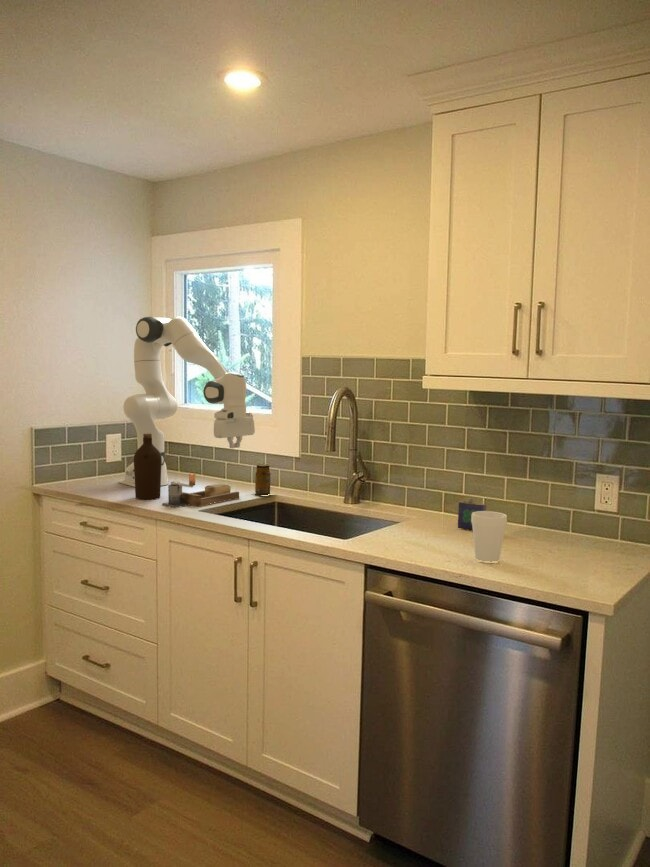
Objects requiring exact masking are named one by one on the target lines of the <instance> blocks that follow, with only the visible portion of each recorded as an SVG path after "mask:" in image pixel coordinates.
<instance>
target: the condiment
mask: <svg viewBox="0 0 650 867" xmlns="http://www.w3.org/2000/svg"><path fill="white" fill-rule="evenodd" d="M270 467H271V466H270V465H269V464H264V463H263V464H257V465H256V471H255V477H254V478H255V484H254V486H255V487H254V491H255V492H252V493H250V494H251V495H253V496H258V495H268V494H271V474H272V473H271V472H270ZM255 494H256V495H255Z"/></svg>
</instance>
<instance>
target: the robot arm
mask: <svg viewBox="0 0 650 867" xmlns="http://www.w3.org/2000/svg"><path fill="white" fill-rule="evenodd" d="M135 325H136V326H135V333H136V336H137V338H136V339H135V341H134V348H133V362H134V363H133V364H134V365H133V366H134V377H135V381H136V382H137V383H138V385H141V386H142V388H143V389H144V391H145V393H144V394H143V393H138V394H133V395H131V396H128V397H127V398H126V399H125V400H124V402H123V407H122V409H123V414H124V415H125V416H126V418H128V419H129V420H130V421H131V422H132V424H133V426H134V427H135V431H136V435H137V450H138V449H139V448H140V447H141V446H142V444H143V437H144V436H143V434H152V444H153V445H154V446H155V447H156V448H157V450H158V451H159V452H160V454H161V457H162V464H161V487H162V486H166V485H167V486H168V485H169V482H170V479H169V478H168V470H167V469H168V468H167V464H166V462H165V461H166V450H165V434H164V432H163V431H162V430H161V429H159V428H158V426H157V423H156V420H160V419H161V420H162V419H167V418H170V417H173V416H174V415H175V414H176V412H177V411H178V402H177V400H176V398H175V397H174V396H173V395H172V394H171V393H170V392H169V390H168V389H167V387H166V385H165V382H164V378H163V373H162V372H163V371H162V362H161V361H162V360H161V359H162V358H161V349H162V347H169V346H171V345H172V346H173V347H174V349H175V351H176V353H177V354H178V356H180V358H182V360H183V361H185V362H188V363H191V364H194V365H197V366H200V367H202V368H204V369H205V370H207V371H208V372H209V373H210V374H211V376H212V377H213V378H214V379H213V380H210V381H207V382H206V383H205V385H204V387H203V390H202V392H203V397H204V399H205V401H206V402H208V403H209V404H212V405H222V404H223V408H221V409H220V410H218V411H216V412H214V415H213V417H214V419H215V420H214V422H213V436H214V438H216V439H225V438H226V439H227V442H228V444H229V446H228V447H229V449H235V448H236V449H237V448H238V449H239V448H240V447H241V443H242V440H243V437H246V436H253V435H254V434H255V433H256V430H255V429H256V428H255V420H254V415H253V414H252V413H251V412H249V411H248V412H247V403H246V398H247V382H246V378H245V375H244V374H242V373H240V372H236V371H235V372H234V371H228V369H227V368H226V367H225V366H224V365H223V363H222V362H221V361H220V359H219V358H218V356H217V355H216V354H215V353H213V351H212V350H210V348H209V347H208V346H207V345H206V344H205V342H204V341H203V340H202V338H200V336H199V334H198V332H197V331H196V330H195V328H194V327H193V326H192V325H191V323H190V322H189V321H188V320H187V319H186V318H185V317H182V316H177V317H176V316H175V317H173V318H168V317H163V316H144V317H141V318H140V319H139V320H138V321H137V323H136V324H135ZM234 438H235V439H236V441H235V442H234V441H233V440H234ZM133 454H134V455H135V452H133ZM118 483H119V484H123V485H127V486H130V487H134V488H135V475H134V461H133V462H132V463H131V464H129V465H128V466H127V467H126V468H125V470H124V478H121V479H119V480H118Z"/></svg>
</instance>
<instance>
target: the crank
mask: <svg viewBox="0 0 650 867" xmlns="http://www.w3.org/2000/svg"><path fill="white" fill-rule="evenodd" d="M170 485H179V486H182V487H185V488H186V487H187V488H194V486H196V473H189V474H188V483H184V482H180V481H178V480H177V481H175V480H174V481H170Z"/></svg>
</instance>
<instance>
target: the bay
mask: <svg viewBox="0 0 650 867" xmlns="http://www.w3.org/2000/svg"><path fill="white" fill-rule="evenodd" d="M182 498H183V500H182V502H185V503H188V505H187V506H192V505H194V506H193V507H201V506H202V505H203V506H207V505H206V504H208V505H211V504H210V503H213V504H215V503H214V502H218V503H220V502H219V501H223V502H225V501H224V500H228V501H230V500H229V499H233V500H236V499H235V498H238V499H240V491H230V493H226V494H220V495H215V496H210V497H205V490H200V491H195V492H190V493H189V492H186V491H185V492H183V491H182ZM203 506H202V507H203Z"/></svg>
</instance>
